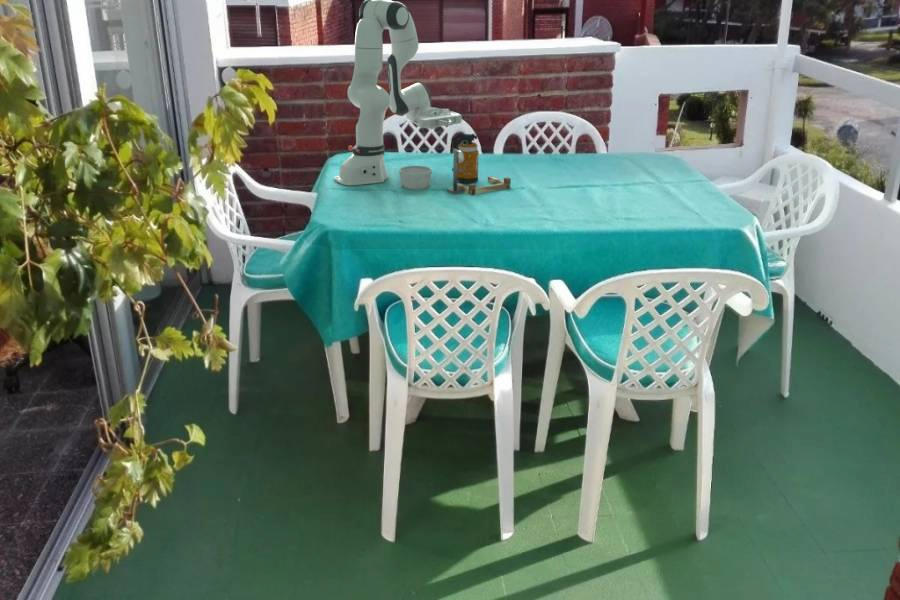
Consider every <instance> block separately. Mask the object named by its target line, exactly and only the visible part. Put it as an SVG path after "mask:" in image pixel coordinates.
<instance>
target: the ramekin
mask: <svg viewBox="0 0 900 600" xmlns="http://www.w3.org/2000/svg"><path fill="white" fill-rule="evenodd" d="M432 170H433V169H432V168H431V167H429V166H424V165H407V166H403V167H401V168H399V171H398V174H399V176H400V177H399V178H400V184H401V186H402V187H403V188H404V189H407V190H414V189H415V190H416V191H417V190H423V189H424V188H425V189H427V188H429V186H430V184H431V181H432V180H431V179H432V178H431V177H432Z"/></svg>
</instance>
